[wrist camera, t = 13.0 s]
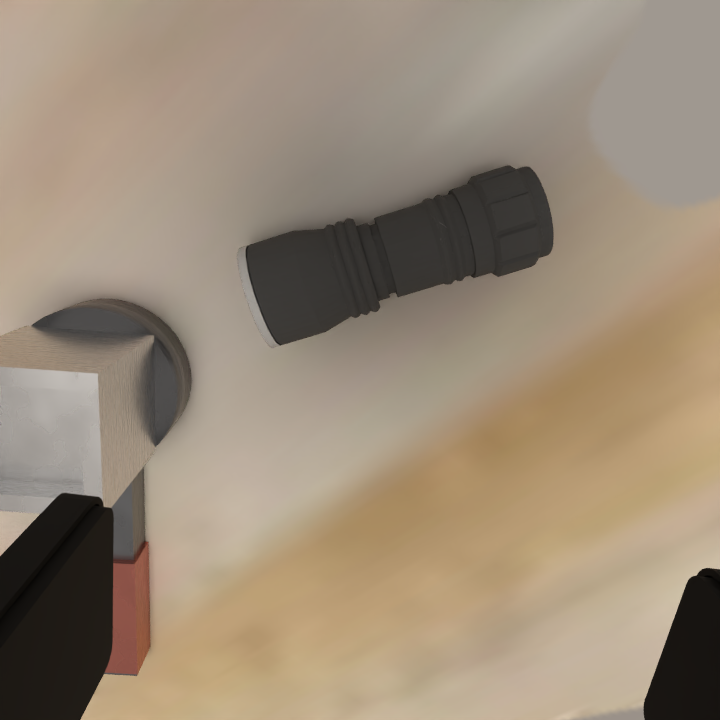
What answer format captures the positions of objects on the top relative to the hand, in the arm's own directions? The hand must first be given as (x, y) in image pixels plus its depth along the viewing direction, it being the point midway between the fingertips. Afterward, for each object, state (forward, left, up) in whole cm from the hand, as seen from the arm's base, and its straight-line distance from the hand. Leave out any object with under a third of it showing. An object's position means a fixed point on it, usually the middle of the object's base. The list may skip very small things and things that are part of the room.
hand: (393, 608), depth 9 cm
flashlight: (-4, +1, -25) cm, 26 cm away
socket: (+5, -14, -22) cm, 27 cm away
